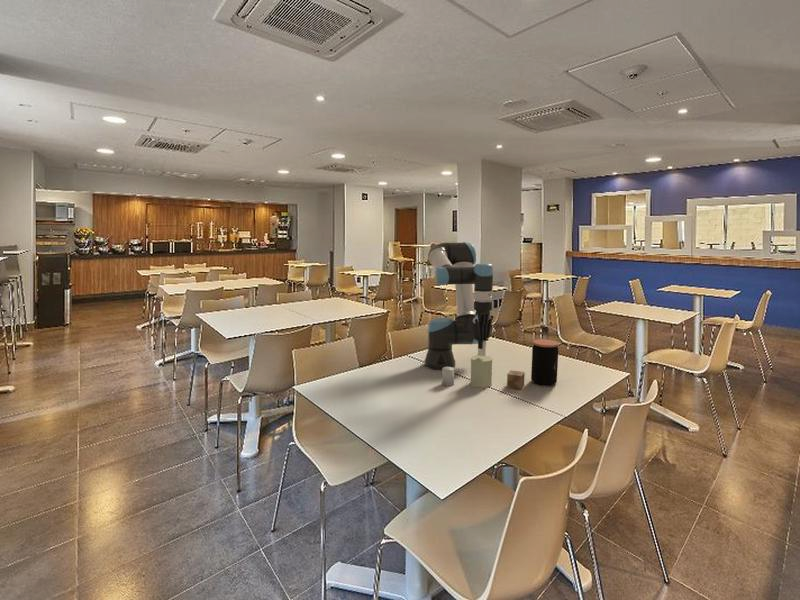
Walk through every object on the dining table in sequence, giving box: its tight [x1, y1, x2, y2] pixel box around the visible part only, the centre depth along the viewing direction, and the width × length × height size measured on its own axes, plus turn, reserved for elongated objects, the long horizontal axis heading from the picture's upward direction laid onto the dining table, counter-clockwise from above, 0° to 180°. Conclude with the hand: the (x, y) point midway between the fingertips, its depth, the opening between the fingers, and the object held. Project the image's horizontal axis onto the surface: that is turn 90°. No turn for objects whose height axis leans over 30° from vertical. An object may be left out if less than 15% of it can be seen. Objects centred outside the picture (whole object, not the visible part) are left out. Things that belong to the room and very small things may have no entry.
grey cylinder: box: [441, 367, 455, 387], centre depth 185 cm, size 5×5×7 cm
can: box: [469, 354, 493, 389], centre depth 185 cm, size 9×9×12 cm
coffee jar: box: [530, 338, 560, 387], centre depth 186 cm, size 11×11×18 cm
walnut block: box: [506, 369, 526, 391], centre depth 182 cm, size 6×6×6 cm
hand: (481, 355), depth 184 cm, fingers closed
